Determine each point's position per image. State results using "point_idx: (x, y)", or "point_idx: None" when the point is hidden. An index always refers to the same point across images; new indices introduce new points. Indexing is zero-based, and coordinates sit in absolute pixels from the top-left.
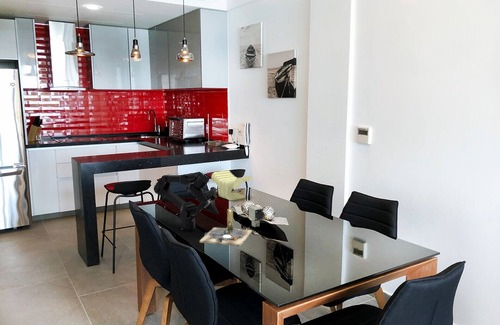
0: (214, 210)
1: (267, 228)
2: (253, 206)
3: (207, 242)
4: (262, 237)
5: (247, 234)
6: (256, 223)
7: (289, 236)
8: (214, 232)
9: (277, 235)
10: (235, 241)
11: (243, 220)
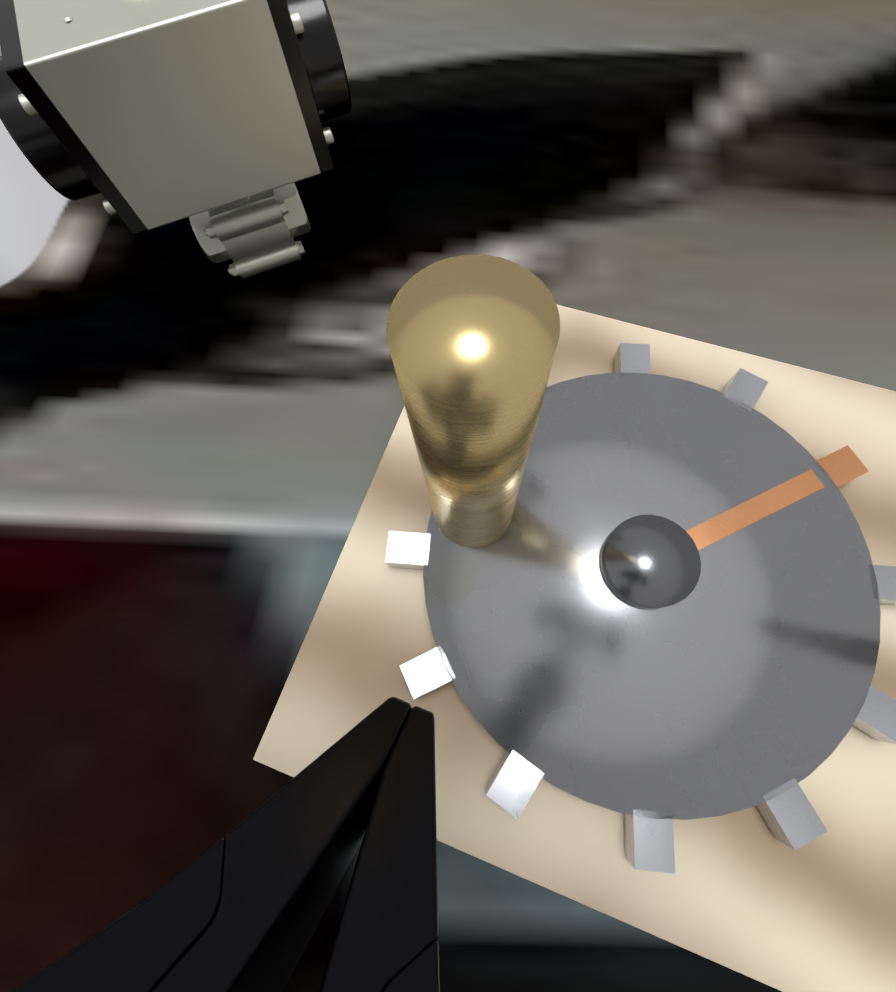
0: (427, 893)
1: (368, 159)
2: (40, 7)
3: None
4: (642, 215)
5: (610, 328)
6: (302, 204)
7: (615, 32)
8: (616, 763)
9: (585, 104)
10: (879, 471)
11: (22, 351)
